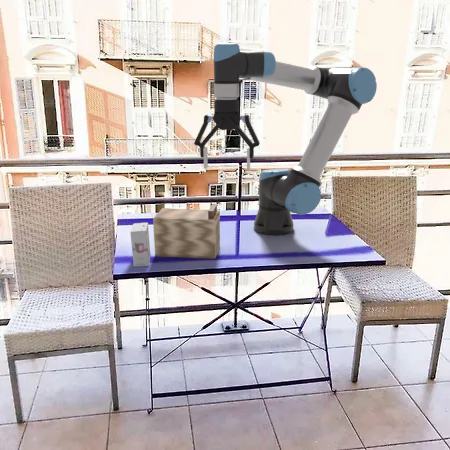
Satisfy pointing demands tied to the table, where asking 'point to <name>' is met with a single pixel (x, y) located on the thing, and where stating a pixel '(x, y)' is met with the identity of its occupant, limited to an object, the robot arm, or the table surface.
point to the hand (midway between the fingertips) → (226, 168)
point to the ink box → (140, 244)
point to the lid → (189, 213)
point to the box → (187, 237)
